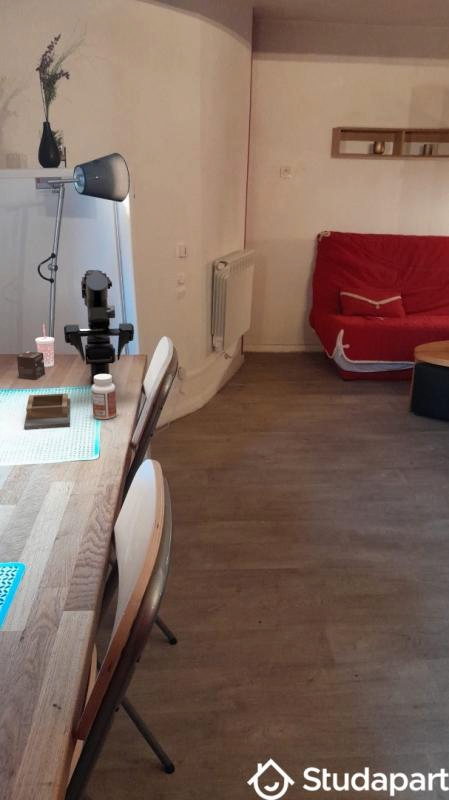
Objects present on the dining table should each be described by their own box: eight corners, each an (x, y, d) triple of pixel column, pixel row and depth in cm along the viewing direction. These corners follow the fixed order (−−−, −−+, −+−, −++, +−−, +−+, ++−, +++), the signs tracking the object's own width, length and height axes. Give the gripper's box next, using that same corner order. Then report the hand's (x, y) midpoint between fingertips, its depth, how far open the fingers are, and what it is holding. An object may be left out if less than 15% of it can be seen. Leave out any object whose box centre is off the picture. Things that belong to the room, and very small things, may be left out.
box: (35, 380, 176) (33, 357, 173) (18, 378, 177) (16, 356, 174) (45, 374, 181) (43, 352, 179) (28, 372, 182) (26, 350, 180)
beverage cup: (39, 362, 193) (35, 322, 188) (57, 362, 194) (54, 322, 189) (35, 367, 188) (32, 326, 183) (54, 367, 188) (51, 326, 183)
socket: (29, 403, 156) (28, 390, 155) (70, 401, 159) (69, 388, 158) (24, 429, 140) (22, 414, 139) (69, 426, 143) (68, 412, 141)
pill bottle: (113, 410, 154) (111, 371, 150) (119, 418, 149) (117, 378, 145) (90, 413, 152) (88, 374, 148) (96, 421, 146) (93, 381, 143)
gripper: (61, 295, 149) (63, 346, 143) (132, 294, 154) (137, 343, 148) (64, 318, 159) (66, 366, 153) (130, 316, 164) (135, 363, 158)
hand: (101, 359), depth 153 cm, fingers open, 9 cm apart
